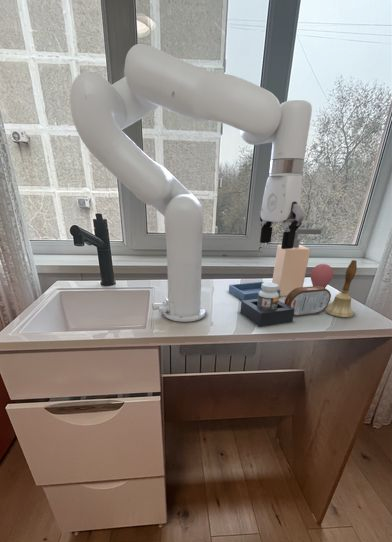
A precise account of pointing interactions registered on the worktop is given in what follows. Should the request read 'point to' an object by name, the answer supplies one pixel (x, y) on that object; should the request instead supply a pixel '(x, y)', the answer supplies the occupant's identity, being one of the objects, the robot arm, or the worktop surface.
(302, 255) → the soap dispenser
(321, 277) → the light bulb
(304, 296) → the tin
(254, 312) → the socket base
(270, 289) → the pill bottle
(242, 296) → the tray
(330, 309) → the hand bell
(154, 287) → the worktop surface
